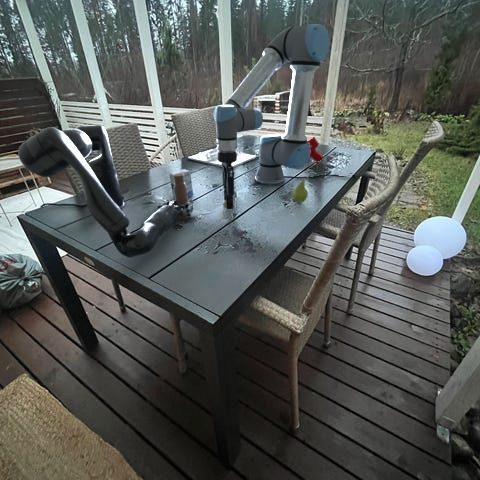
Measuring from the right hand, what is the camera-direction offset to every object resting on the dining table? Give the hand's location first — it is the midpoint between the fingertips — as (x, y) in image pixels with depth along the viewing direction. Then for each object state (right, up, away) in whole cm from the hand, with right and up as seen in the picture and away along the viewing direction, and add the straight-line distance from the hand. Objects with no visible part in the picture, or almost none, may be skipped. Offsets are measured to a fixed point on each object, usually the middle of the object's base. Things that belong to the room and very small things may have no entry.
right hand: (228, 206), depth 116 cm
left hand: (-17, +2, -6) cm, 18 cm away
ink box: (-22, +6, +12) cm, 26 cm away
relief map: (-7, +39, +64) cm, 75 cm away
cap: (0, +2, -1) cm, 2 cm away
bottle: (-18, -5, -5) cm, 19 cm away
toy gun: (+46, +35, +57) cm, 81 cm away
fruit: (+31, +2, +6) cm, 32 cm away
